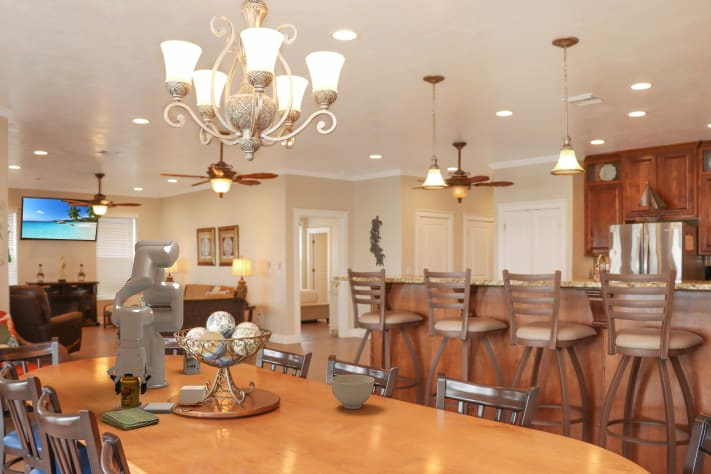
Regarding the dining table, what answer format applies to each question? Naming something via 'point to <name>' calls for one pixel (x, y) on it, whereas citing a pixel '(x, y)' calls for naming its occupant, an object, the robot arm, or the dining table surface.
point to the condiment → (130, 392)
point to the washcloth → (129, 418)
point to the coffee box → (190, 365)
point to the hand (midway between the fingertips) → (130, 393)
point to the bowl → (352, 389)
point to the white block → (192, 394)
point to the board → (153, 407)
